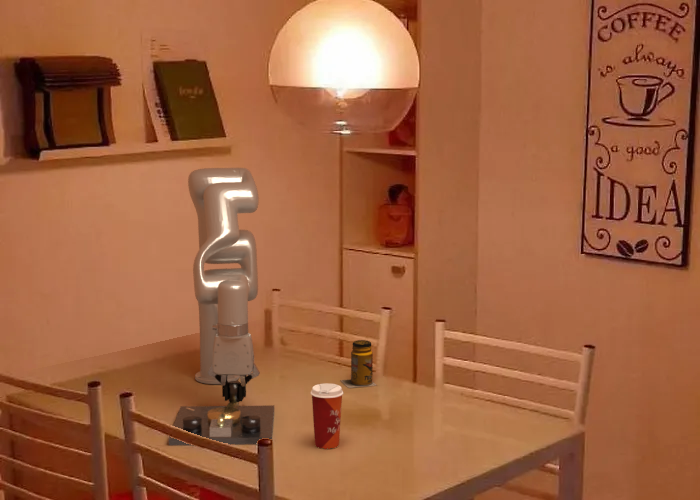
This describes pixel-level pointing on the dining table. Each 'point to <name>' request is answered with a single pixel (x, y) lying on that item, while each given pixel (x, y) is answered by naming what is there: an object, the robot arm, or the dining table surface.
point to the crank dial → (228, 405)
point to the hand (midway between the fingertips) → (234, 398)
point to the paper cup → (327, 414)
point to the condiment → (361, 365)
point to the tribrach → (226, 424)
